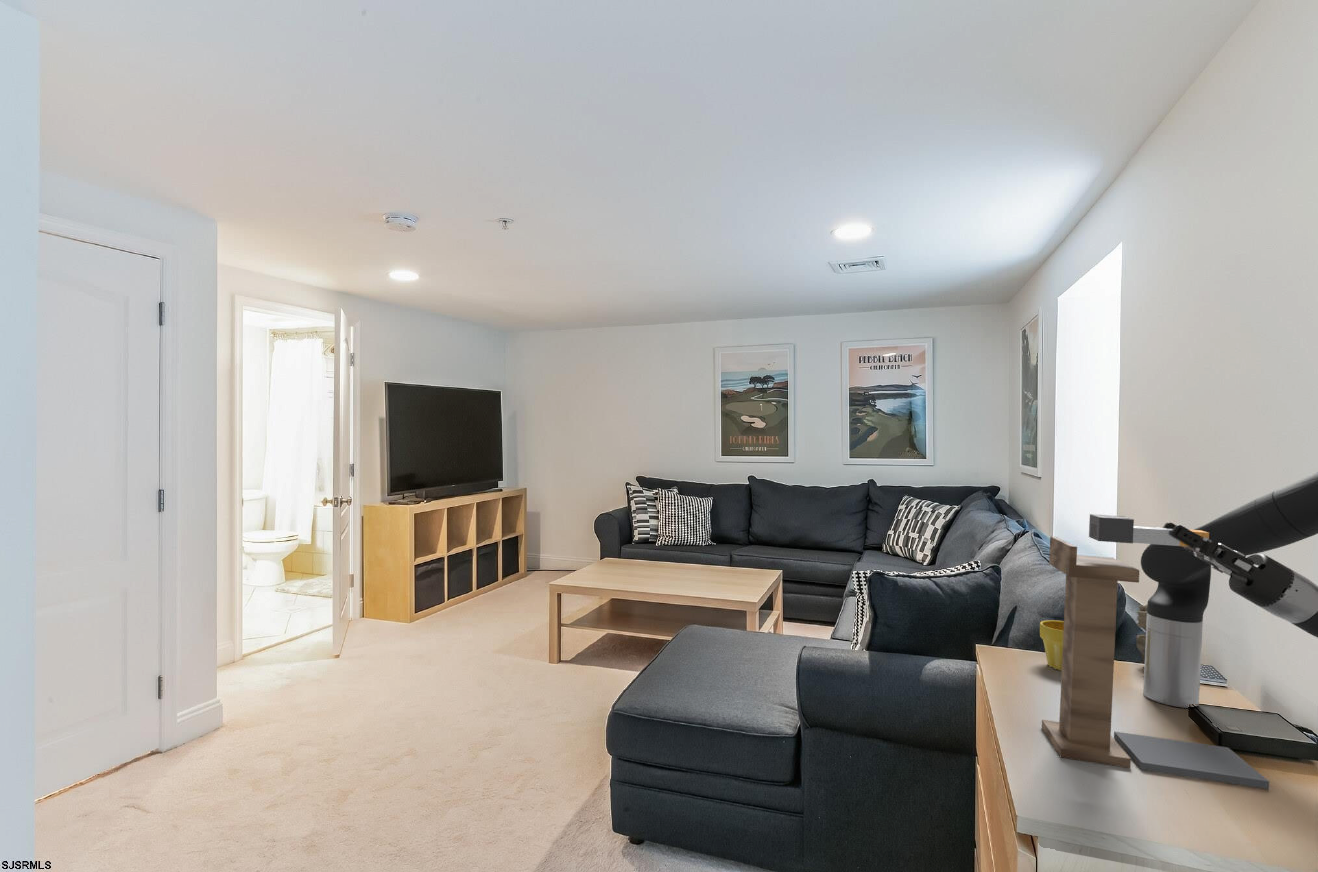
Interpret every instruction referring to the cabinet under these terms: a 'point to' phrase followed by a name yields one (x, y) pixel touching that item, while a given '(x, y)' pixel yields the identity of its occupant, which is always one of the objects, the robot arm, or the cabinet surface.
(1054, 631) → the plant pot
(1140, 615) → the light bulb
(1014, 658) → the cabinet surface
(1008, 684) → the cabinet surface
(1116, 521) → the grey block hammer
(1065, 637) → the walnut stand
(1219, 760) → the rubber mat
